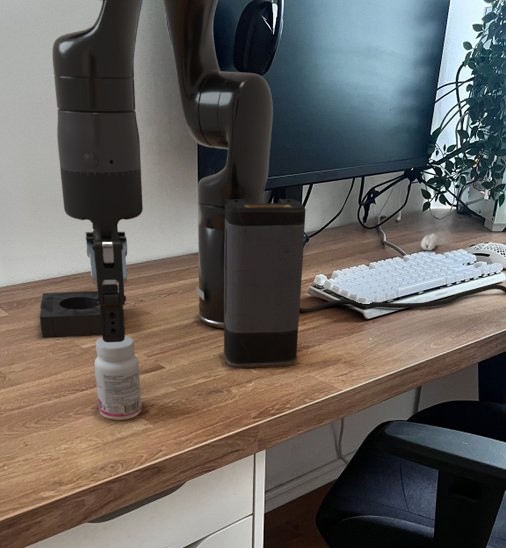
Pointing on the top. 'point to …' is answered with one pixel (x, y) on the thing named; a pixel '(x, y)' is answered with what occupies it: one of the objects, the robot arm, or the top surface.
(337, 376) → the top surface
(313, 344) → the top surface
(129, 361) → the pill bottle
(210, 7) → the robot arm
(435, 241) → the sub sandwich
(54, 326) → the socket plate
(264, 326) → the electronic device
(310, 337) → the top surface
